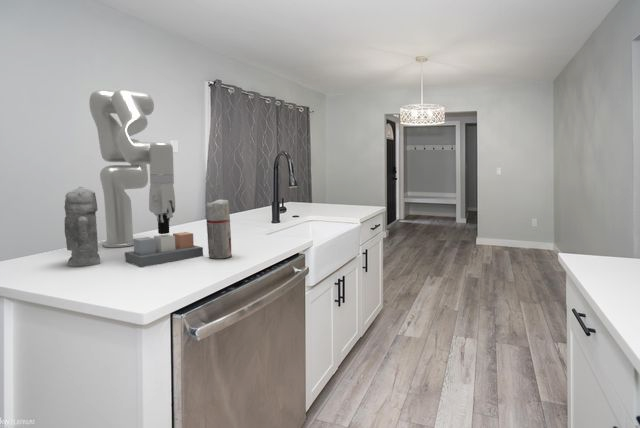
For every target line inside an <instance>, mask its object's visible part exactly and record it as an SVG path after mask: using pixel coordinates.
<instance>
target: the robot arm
mask: <svg viewBox="0 0 640 428" xmlns="http://www.w3.org/2000/svg"><path fill="white" fill-rule="evenodd" d="M89 96H90V97H89V111H90V114H91V116H92V119H93V121H94V124H95V127H96V129H97V137H98V143H99V149H100V155H101V157H102V159H103V160H104V162H109V163H128V164H129V165H125V164H121V165H120V164H119V165H118V164H113V165H112V164H111V165H106V166H104V167H103V168H102V169H101V170H100V172H99V178H100V183H101V187H102V192H103V198H104V199H103V200H104V215H105V230H106V241H104V242H103V243H102V246H103V247H104V248H124V247H132V246H134V241H133V239H134V232H133V231H134V230H133V229H134V228H133V211H132V200H131V197H130V196H129V195H128V193H127V192H125V190H137V189H139V190H140V189H143V188H145V187H147V185H148V183H149V184H150V185H149V193H148V194H149V196H148V202H149V203H148V205H149V206H148V207H149V208H148V209H149V211H150V212H151V213H153V214H154V215H155V216H156V221H157V233H158V234H159V235H167V234H170V222H171V219H172V218H173V216H174V215H173V214H175V212H176V195H175V187H174V184H175V180H174V179H175V178H174V177H175V176H174V172H175V171H174V147H173V145H172V144H171V143H168V142H150V141H140V140H139V139H135V138H131V137H132V136H134V135H137V134H140V133H141V132H143V131H144V130H145V129H146V128H147V126H148V119H147V117H146V116H150V115H152V113H153V112H154V109H155V103H154V99H153V98H152V96H151V95H150V94H149V93H147V92H144V91H135V90H131V89H130V90H129V89H120V90H108V89H107V90H105V89H102V90H100V89H99V90H95V91H93V92H91V94H90V95H89ZM112 114H114V115H115V114H116V115H117V117H118V118H119V121H120V123H121V124H120V123H119V121H118V120H117V119H116V118H115V117H114V116H113V115H112ZM121 125H122V126H121ZM147 165H149V173H148V166H147Z"/></svg>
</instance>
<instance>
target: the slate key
mask: <svg viewBox="0 0 640 428" xmlns="http://www.w3.org/2000/svg"><path fill="white" fill-rule="evenodd" d="M133 241H134V245H133V251H134V254H136V255H140V256H142V255H148V254H154V253H156V243H155V239H154V237H150V236H147V237H146V236H145V237H138V238H137V237H136V238H133Z"/></svg>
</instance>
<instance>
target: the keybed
mask: <svg viewBox="0 0 640 428" xmlns="http://www.w3.org/2000/svg"><path fill="white" fill-rule="evenodd" d="M203 256H204V247H203V246H199V245H196V244H195V245H194V247H190V248H184V249H178V248H175V250H172V251H166V252H158V251H156V253H154V254H148V255H142V256H140V255H136V254H134V250H132V251H131V250H130V251H125V252H124V261H125V262H127V263H131V264H132V265H135V266H138V267H141V268H144V267H150V266H154V265H155V266H156V265H160V264H161V265H162V264H165V263H166V264H167V263H171V262H176V261H181V260H187V259H193V258H197V257H198V258H199V257H203Z"/></svg>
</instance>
